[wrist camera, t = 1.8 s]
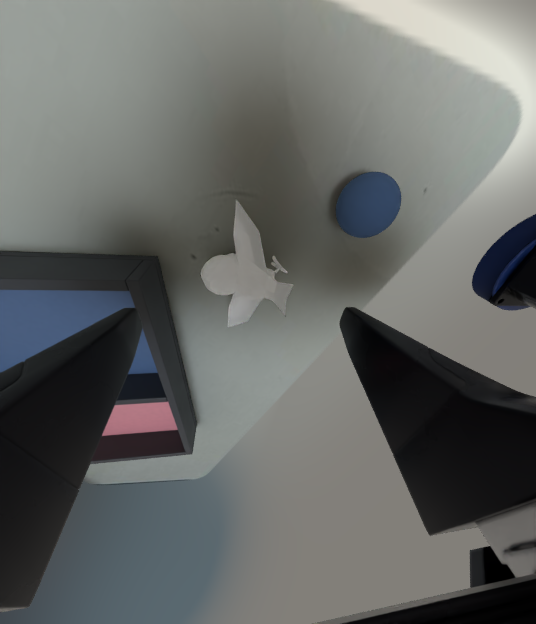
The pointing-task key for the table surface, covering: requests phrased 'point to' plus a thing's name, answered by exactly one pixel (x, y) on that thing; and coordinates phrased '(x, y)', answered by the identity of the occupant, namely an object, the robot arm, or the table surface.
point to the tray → (88, 310)
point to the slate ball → (368, 204)
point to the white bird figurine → (245, 273)
